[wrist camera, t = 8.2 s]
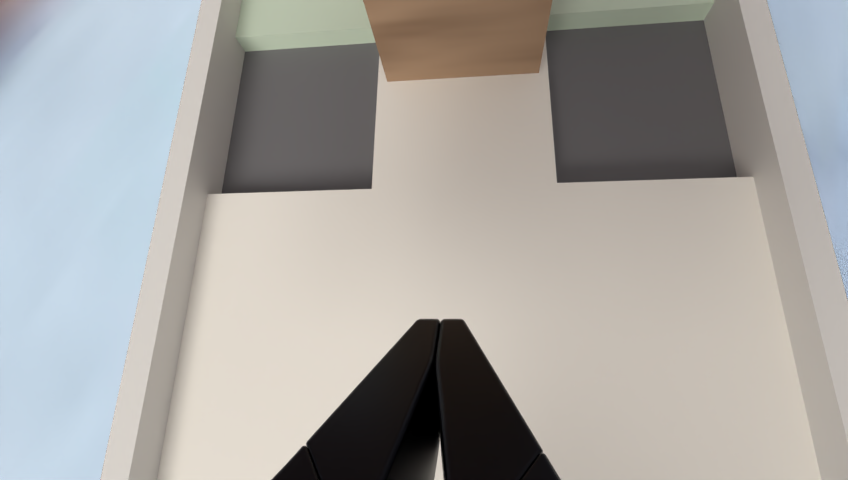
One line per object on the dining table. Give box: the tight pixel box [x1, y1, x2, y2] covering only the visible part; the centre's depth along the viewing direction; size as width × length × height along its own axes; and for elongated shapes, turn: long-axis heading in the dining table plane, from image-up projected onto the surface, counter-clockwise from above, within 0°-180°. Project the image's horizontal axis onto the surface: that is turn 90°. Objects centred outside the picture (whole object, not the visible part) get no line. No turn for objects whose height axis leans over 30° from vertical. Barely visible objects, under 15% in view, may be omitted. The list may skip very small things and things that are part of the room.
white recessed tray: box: [100, 0, 848, 480], centre depth 22 cm, size 34×29×3 cm
